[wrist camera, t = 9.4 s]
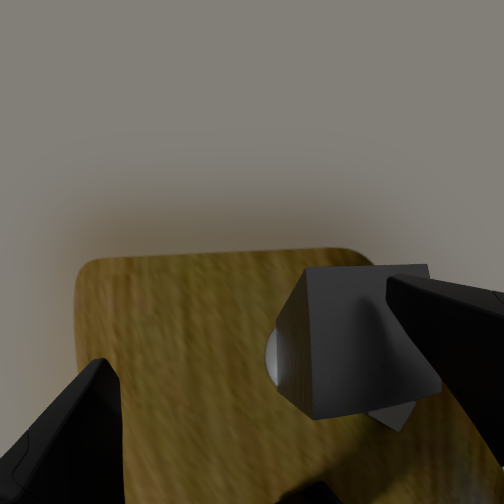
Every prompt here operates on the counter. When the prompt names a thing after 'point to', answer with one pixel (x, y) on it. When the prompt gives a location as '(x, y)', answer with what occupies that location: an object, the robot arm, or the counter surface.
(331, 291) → the dark grey square block
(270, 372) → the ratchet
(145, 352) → the counter surface
